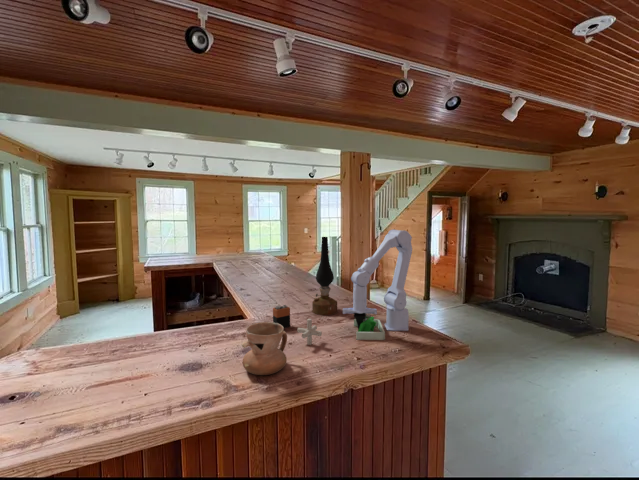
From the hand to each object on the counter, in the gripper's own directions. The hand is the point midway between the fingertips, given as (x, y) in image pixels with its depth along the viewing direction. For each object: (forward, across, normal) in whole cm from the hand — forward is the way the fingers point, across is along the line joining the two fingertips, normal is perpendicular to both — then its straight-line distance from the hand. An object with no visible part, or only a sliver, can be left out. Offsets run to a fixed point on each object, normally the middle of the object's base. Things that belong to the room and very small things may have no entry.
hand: (359, 329), depth 139 cm
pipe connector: (+1, -21, -13) cm, 24 cm away
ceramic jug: (+2, -34, -33) cm, 47 cm away
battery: (+2, -35, +5) cm, 35 cm away
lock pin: (0, +4, +14) cm, 15 cm away
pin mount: (+1, +4, +11) cm, 12 cm away
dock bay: (+1, +4, 0) cm, 4 cm away
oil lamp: (+1, -16, +29) cm, 33 cm away
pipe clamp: (+1, +3, 0) cm, 3 cm away
